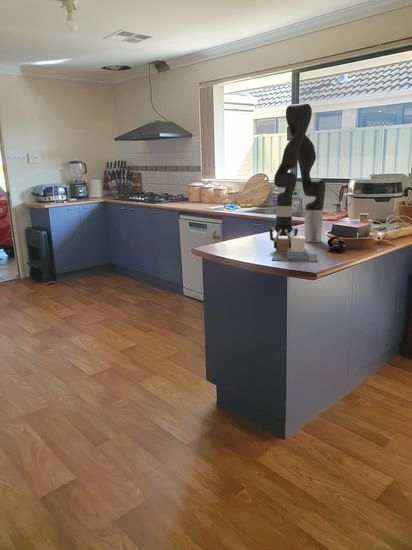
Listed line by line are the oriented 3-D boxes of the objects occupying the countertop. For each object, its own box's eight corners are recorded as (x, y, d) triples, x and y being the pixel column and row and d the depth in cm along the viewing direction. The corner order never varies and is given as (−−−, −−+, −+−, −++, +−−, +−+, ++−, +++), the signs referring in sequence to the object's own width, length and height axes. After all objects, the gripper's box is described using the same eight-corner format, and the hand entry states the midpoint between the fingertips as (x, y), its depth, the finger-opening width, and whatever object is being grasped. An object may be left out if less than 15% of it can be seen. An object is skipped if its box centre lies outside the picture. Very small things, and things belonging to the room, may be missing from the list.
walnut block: (277, 249, 216) (277, 237, 214) (289, 250, 215) (289, 238, 213) (276, 252, 210) (276, 240, 209) (288, 252, 209) (289, 240, 207)
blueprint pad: (273, 253, 207) (274, 246, 206) (316, 254, 203) (317, 247, 202) (271, 260, 192) (272, 253, 191) (318, 262, 188) (318, 254, 187)
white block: (290, 248, 200) (291, 235, 199) (304, 249, 199) (304, 236, 197) (290, 251, 194) (291, 238, 193) (304, 251, 193) (305, 238, 192)
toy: (325, 250, 206) (325, 236, 219) (329, 261, 209) (329, 247, 221) (345, 244, 203) (343, 231, 215) (348, 256, 205) (347, 242, 218)
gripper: (299, 214, 210) (297, 248, 214) (269, 213, 213) (268, 247, 217) (299, 216, 203) (297, 251, 207) (268, 215, 206) (267, 250, 210)
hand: (282, 249), depth 212 cm, fingers closed on walnut block, 6 cm apart
